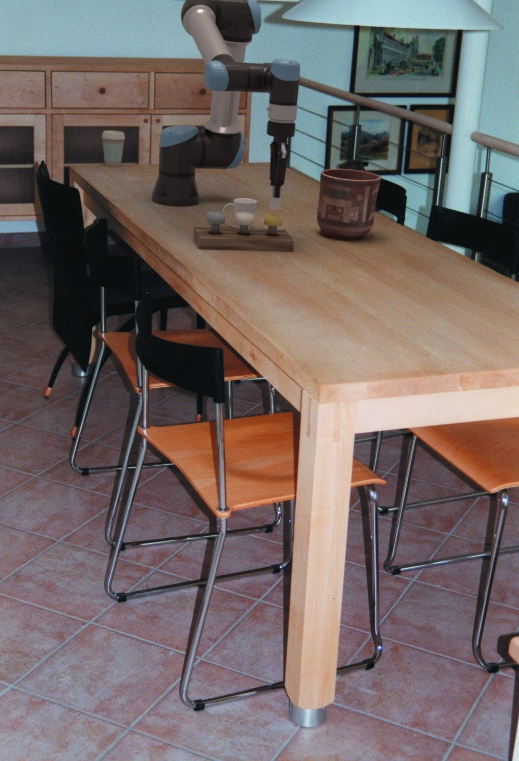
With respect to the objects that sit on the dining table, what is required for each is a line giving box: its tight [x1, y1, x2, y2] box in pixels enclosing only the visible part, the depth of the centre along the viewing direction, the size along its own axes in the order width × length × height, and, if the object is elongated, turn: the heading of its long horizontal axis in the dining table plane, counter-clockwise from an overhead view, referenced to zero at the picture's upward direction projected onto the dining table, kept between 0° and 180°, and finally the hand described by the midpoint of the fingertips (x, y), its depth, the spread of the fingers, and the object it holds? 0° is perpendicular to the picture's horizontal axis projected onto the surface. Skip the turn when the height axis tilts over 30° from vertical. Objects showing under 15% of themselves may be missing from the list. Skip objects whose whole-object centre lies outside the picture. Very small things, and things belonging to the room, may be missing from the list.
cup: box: [222, 197, 258, 229], centre depth 287 cm, size 7×10×8 cm
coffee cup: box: [101, 130, 126, 168], centre depth 359 cm, size 8×9×12 cm
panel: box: [193, 226, 295, 252], centre depth 271 cm, size 12×26×3 cm, turn 101°
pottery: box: [316, 168, 382, 241], centre depth 287 cm, size 18×18×18 cm
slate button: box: [206, 210, 226, 233], centre depth 267 cm, size 5×5×5 cm
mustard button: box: [263, 212, 284, 235], centre depth 271 cm, size 5×5×5 cm
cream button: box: [234, 212, 255, 234], centre depth 269 cm, size 5×5×5 cm
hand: (274, 208), depth 269 cm, fingers closed
